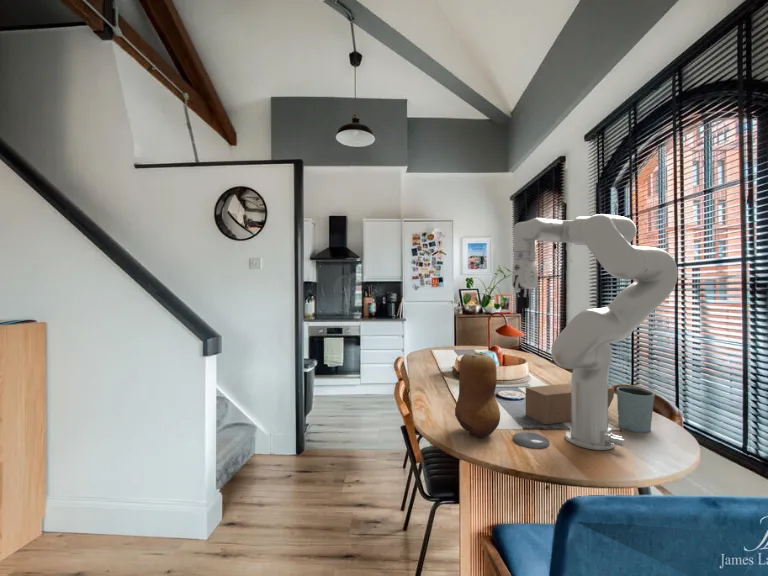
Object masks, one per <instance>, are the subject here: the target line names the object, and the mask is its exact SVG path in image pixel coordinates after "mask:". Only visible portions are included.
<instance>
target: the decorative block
mask: <svg viewBox="0 0 768 576" xmlns="http://www.w3.org/2000/svg"><path fill="white" fill-rule="evenodd" d="M614 396H615V387H612V386H610V385H608V409H609V408H610V406H611V404H612V401H613V400H614V398H615V397H614ZM525 416H527V417H529V418H531V419H533V420H535V421H537V422H539V423H541V424H542V425H543V424H544V425H545V424H546V425H553V424H558V423H559V424H560V423H566V422H567V423H569V422H571V382H570V383H569V382H568V383H560V384H549V385H538V386H529V387H525Z"/></svg>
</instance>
